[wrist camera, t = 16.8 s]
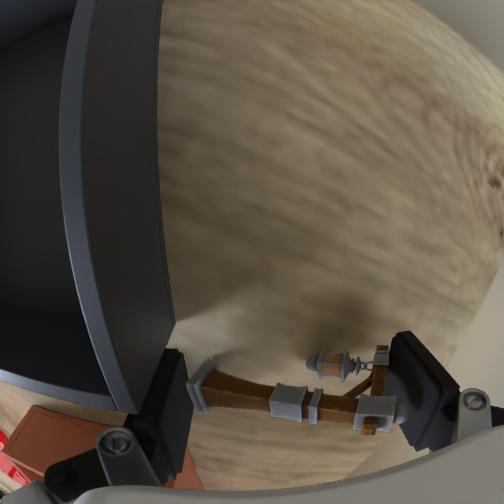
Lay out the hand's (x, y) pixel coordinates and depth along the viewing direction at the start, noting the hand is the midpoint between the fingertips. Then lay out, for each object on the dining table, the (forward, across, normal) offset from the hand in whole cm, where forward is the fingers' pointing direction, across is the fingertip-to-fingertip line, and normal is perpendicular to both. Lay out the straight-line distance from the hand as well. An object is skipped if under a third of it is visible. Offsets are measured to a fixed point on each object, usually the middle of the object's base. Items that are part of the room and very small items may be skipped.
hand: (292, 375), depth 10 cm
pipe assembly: (+1, 0, 0) cm, 1 cm away
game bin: (+1, +11, -9) cm, 14 cm away
